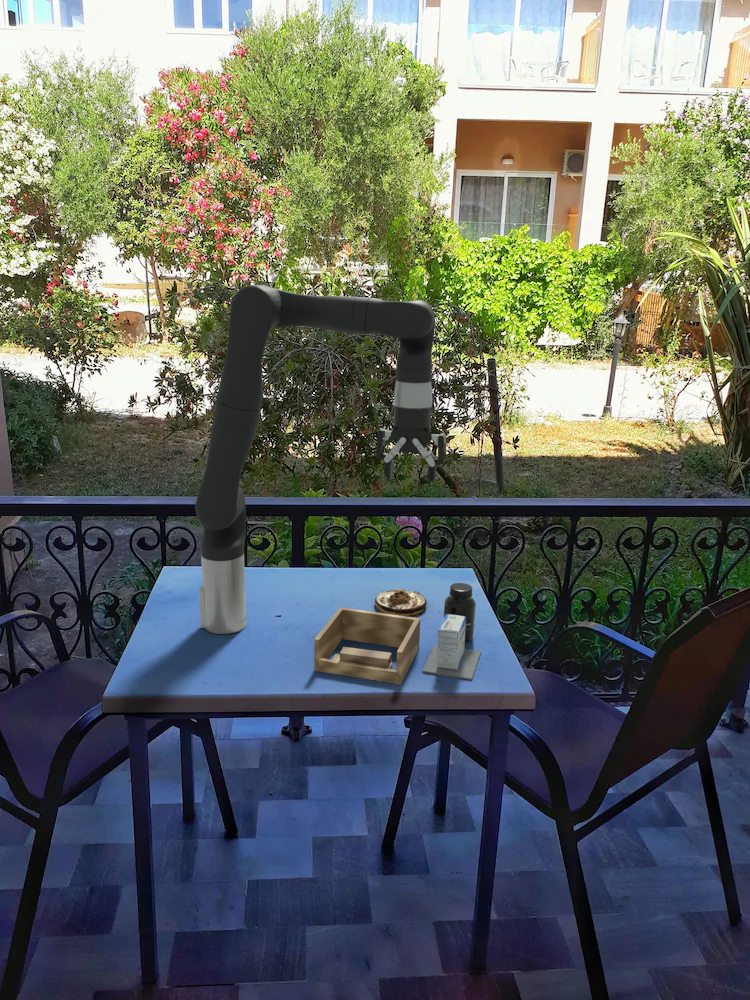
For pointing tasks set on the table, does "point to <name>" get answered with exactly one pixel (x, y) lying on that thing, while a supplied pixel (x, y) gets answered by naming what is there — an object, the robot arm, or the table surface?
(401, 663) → the tan wooden open box
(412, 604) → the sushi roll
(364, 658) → the wooden block
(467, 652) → the mat
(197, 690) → the table surface
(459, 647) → the medicine box
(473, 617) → the supplement bottle
